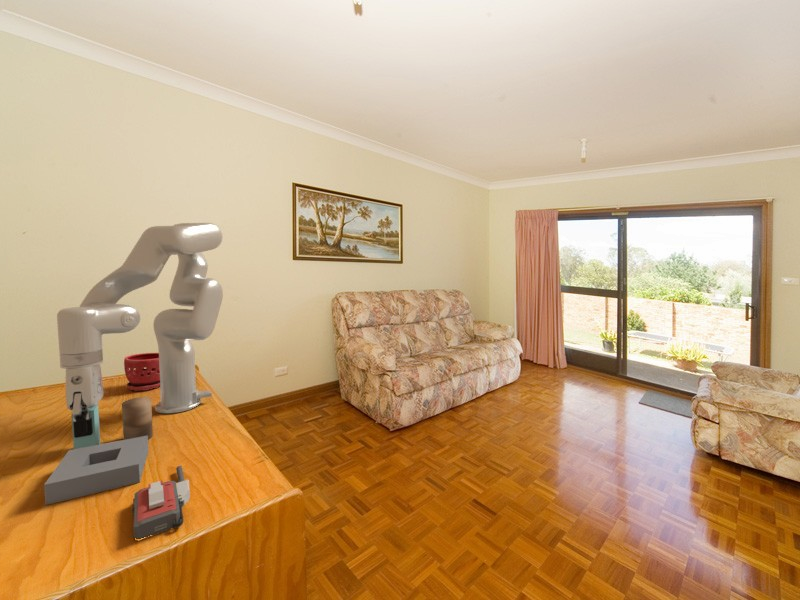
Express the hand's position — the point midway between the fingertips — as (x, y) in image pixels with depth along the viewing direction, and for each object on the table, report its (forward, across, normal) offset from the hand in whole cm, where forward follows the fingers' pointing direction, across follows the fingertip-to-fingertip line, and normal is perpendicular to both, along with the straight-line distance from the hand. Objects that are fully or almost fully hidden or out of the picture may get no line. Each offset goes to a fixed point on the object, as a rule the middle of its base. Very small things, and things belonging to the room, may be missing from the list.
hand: (86, 431), depth 83 cm
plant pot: (+5, +47, -7) cm, 48 cm away
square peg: (+4, 0, 0) cm, 4 cm away
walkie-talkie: (+5, -33, -18) cm, 38 cm away
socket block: (+4, -16, -6) cm, 18 cm away
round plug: (+4, 0, -10) cm, 11 cm away
